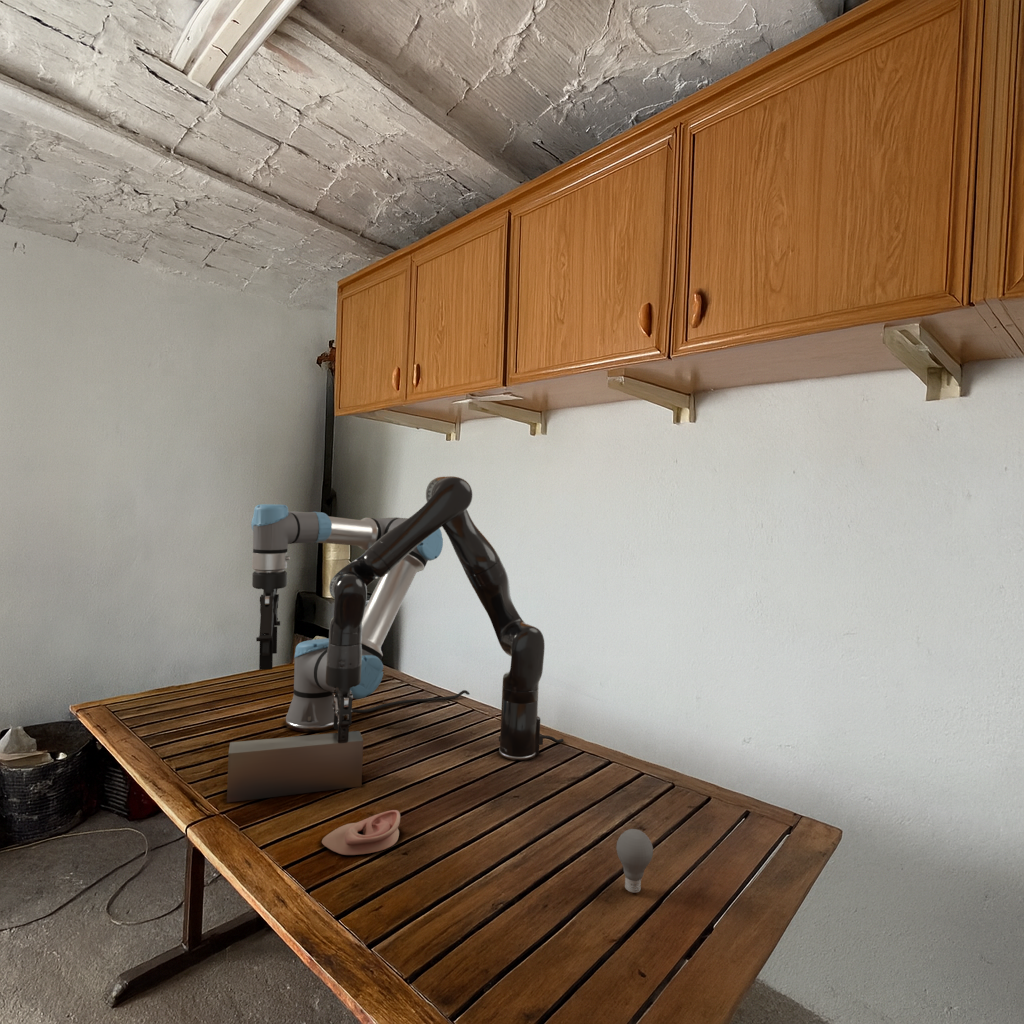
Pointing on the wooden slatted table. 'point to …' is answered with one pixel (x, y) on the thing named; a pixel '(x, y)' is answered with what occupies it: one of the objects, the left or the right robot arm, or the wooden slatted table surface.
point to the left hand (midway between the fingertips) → (268, 661)
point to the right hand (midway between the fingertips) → (340, 735)
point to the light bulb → (634, 857)
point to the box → (293, 766)
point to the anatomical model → (365, 835)
